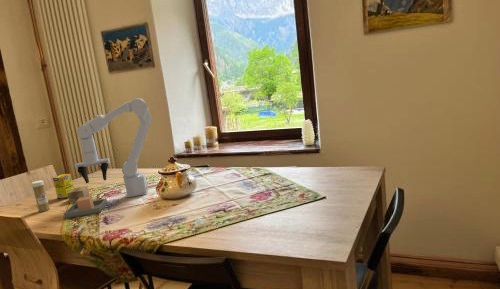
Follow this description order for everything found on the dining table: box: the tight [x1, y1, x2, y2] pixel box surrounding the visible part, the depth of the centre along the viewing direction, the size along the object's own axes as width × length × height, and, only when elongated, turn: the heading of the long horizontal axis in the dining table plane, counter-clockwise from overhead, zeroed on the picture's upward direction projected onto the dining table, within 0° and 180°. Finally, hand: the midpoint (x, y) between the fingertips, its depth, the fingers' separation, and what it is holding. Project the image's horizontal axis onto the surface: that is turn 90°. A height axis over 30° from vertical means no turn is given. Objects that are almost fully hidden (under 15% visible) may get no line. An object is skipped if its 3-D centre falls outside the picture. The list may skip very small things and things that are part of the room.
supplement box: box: [52, 173, 75, 200], centre depth 188 cm, size 6×6×11 cm
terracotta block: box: [76, 194, 94, 211], centre depth 162 cm, size 5×5×5 cm
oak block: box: [67, 185, 90, 204], centre depth 182 cm, size 7×7×5 cm
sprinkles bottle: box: [31, 180, 51, 213], centre depth 171 cm, size 5×5×14 cm
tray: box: [63, 198, 108, 220], centre depth 162 cm, size 14×12×2 cm
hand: (96, 181), depth 172 cm, fingers open, 7 cm apart
